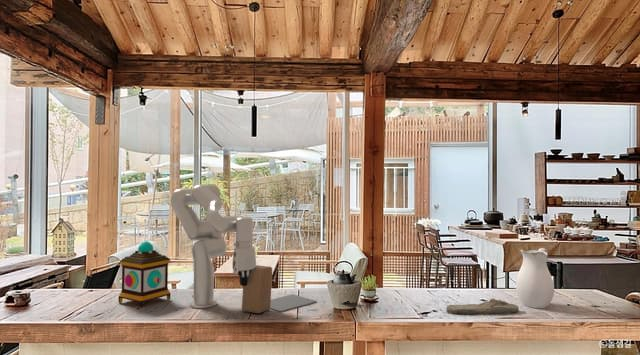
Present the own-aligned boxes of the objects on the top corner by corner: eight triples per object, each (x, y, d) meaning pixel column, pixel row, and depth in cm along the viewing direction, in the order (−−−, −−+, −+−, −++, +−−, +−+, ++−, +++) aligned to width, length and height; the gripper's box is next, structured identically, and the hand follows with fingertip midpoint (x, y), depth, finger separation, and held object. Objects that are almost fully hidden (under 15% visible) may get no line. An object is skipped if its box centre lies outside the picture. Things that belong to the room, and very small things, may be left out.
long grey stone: (442, 312, 198) (451, 320, 188) (442, 301, 198) (450, 309, 188) (511, 307, 202) (523, 314, 192) (511, 296, 202) (523, 303, 192)
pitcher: (545, 312, 194) (545, 253, 195) (509, 304, 207) (509, 248, 207) (564, 303, 210) (564, 248, 210) (529, 296, 223) (529, 244, 223)
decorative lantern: (140, 310, 192) (141, 245, 193) (113, 303, 202) (114, 241, 203) (174, 299, 209) (175, 240, 210) (148, 294, 219) (149, 237, 220)
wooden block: (270, 309, 194) (273, 266, 196) (259, 314, 185) (261, 268, 187) (253, 307, 198) (255, 264, 200) (240, 311, 189) (243, 266, 191)
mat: (256, 304, 203) (256, 303, 203) (292, 295, 220) (292, 294, 220) (280, 312, 190) (280, 311, 190) (316, 302, 208) (316, 301, 208)
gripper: (234, 247, 179) (234, 289, 179) (262, 243, 190) (262, 284, 189) (225, 245, 184) (224, 286, 184) (252, 242, 195) (252, 281, 195)
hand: (243, 285), depth 187 cm, fingers closed
